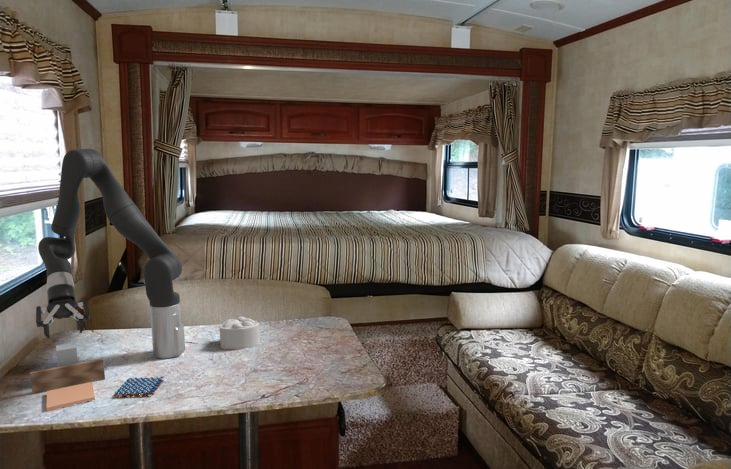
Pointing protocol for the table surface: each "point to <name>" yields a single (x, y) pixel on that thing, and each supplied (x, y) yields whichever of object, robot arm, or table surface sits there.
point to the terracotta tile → (69, 396)
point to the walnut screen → (67, 376)
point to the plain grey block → (66, 354)
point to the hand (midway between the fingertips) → (65, 334)
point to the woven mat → (139, 387)
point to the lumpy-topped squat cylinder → (239, 333)
